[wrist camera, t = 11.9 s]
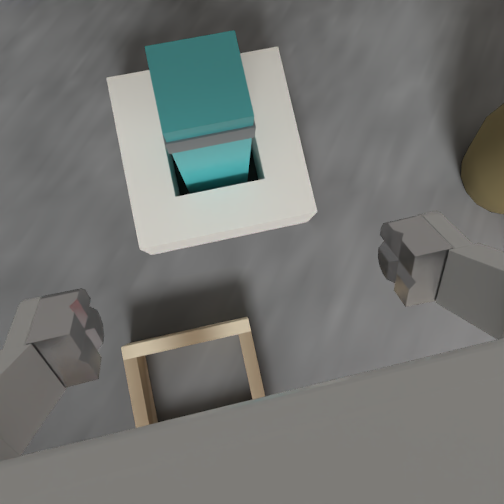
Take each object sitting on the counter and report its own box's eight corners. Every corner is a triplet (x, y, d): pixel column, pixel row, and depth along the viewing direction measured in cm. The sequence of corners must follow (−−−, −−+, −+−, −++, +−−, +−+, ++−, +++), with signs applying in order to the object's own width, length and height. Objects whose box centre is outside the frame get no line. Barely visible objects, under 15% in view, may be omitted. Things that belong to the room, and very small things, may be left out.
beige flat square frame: (153, 465, 26) (145, 480, 24) (130, 342, 27) (120, 347, 24) (272, 435, 26) (276, 448, 24) (247, 316, 27) (248, 318, 25)
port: (151, 254, 27) (139, 249, 24) (122, 104, 28) (106, 77, 25) (307, 221, 28) (317, 211, 24) (272, 76, 29) (277, 46, 25)
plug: (189, 197, 28) (160, 136, 17) (178, 140, 28) (141, 44, 17) (248, 185, 28) (256, 117, 17) (236, 129, 28) (236, 27, 18)
